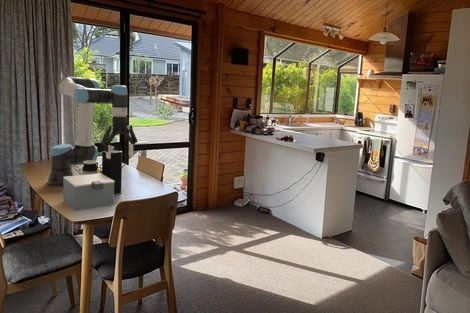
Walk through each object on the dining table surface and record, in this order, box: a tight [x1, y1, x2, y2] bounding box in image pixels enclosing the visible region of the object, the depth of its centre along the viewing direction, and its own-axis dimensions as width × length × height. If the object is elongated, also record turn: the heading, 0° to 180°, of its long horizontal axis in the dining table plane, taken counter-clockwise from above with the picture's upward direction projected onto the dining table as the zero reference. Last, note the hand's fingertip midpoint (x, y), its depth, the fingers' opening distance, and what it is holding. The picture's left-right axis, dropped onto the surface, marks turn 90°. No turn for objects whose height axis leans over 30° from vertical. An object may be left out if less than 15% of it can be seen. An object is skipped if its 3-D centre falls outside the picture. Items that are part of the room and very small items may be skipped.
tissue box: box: [101, 145, 123, 196], centre depth 214 cm, size 8×8×28 cm
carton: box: [62, 179, 115, 211], centre depth 196 cm, size 18×20×12 cm
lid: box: [63, 172, 115, 190], centre depth 193 cm, size 24×20×3 cm
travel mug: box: [81, 160, 98, 175], centre depth 214 cm, size 8×8×18 cm
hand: (120, 157), depth 193 cm, fingers open, 13 cm apart
